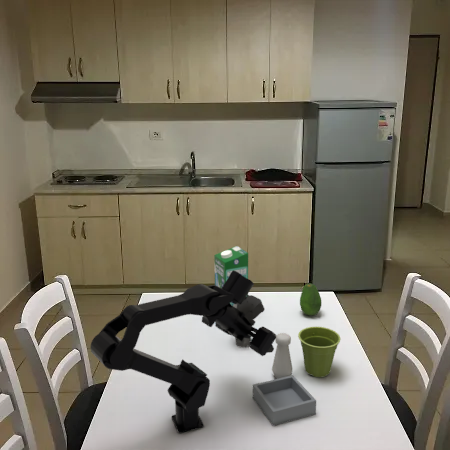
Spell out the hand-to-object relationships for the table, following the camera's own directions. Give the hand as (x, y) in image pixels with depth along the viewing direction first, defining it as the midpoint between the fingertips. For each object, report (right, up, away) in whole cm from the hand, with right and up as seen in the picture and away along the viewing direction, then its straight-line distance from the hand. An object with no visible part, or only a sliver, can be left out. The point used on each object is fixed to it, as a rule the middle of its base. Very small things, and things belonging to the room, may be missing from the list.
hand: (260, 343), depth 129 cm
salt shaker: (+7, -12, +9) cm, 16 cm away
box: (+5, -15, -4) cm, 17 cm away
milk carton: (-7, -1, +46) cm, 46 cm away
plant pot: (+17, -11, +11) cm, 23 cm away
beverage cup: (-4, -7, +26) cm, 27 cm away
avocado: (+21, -1, +46) cm, 51 cm away
